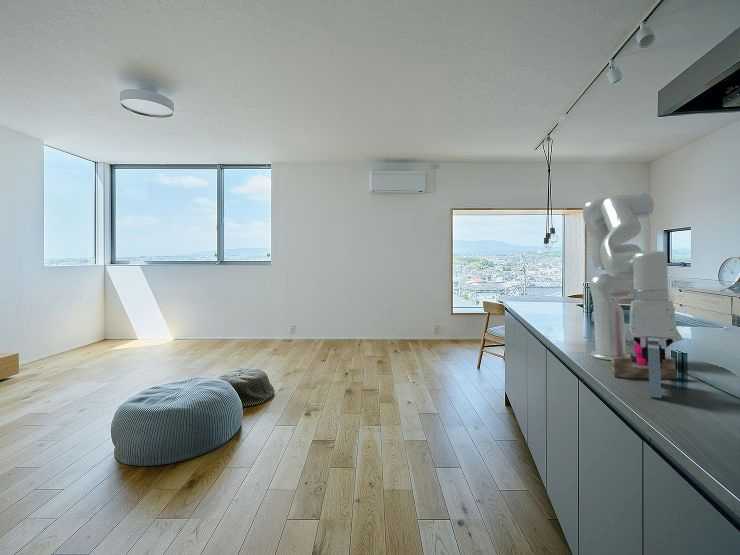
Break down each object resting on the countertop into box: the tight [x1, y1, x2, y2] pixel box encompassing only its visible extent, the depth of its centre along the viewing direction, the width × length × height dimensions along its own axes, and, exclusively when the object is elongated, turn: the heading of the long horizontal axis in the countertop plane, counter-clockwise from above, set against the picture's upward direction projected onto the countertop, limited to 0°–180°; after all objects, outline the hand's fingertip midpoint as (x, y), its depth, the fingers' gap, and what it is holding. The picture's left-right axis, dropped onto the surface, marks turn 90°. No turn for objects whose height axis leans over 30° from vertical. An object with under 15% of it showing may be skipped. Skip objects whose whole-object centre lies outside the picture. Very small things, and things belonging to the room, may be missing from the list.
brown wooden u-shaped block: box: [610, 356, 677, 380], centre depth 113 cm, size 16×2×6 cm, turn 73°
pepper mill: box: [633, 337, 649, 367], centre depth 126 cm, size 7×7×20 cm
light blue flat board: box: [647, 337, 662, 399], centre depth 101 cm, size 16×2×13 cm, turn 143°
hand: (653, 360), depth 101 cm, fingers closed on light blue flat board, 2 cm apart
